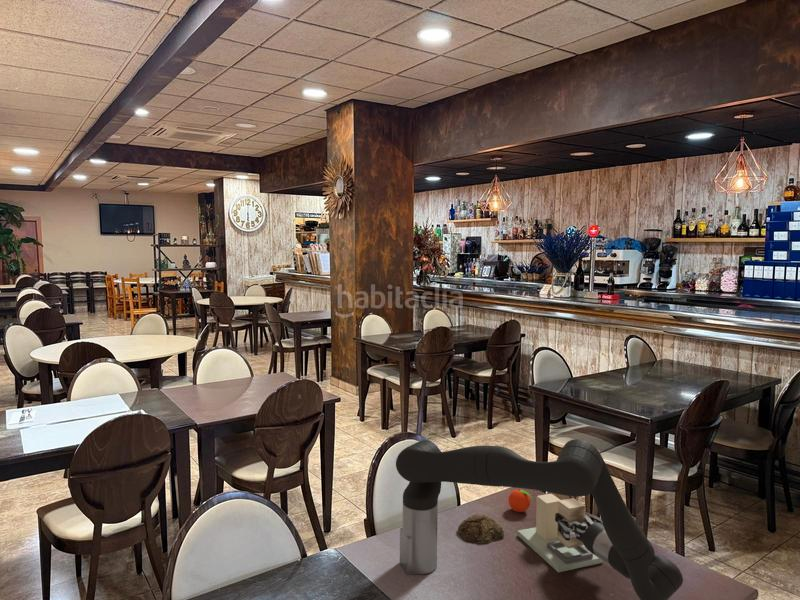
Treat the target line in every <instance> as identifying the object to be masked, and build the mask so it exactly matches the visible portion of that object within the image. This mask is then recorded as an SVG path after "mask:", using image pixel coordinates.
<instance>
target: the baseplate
mask: <svg viewBox="0 0 800 600" xmlns="http://www.w3.org/2000/svg"><path fill="white" fill-rule="evenodd" d="M559 500H560V499H559V498H557V497H556V496H554V495H553V494H547V493H546V494H540V495H536V509H535V511H536V514H535V527H530V528H525V529H519V530H517V536H518V537H519V538H520V539H521V540H522V541H523V542H524V543H525V544H526V545H528V547H529V548H531V549H532V550H533V551H534V552H535V553H536V554H537V555H539V556H540V557H541V558H542V559H543V560H544V561H545V562H546V563H547V564H549V565H550V566H551V567H552V569H554V570H555V571H556V572H557V573H562V572H567V571H572V570H577V569H580V568H585V567H589V566H594V565H599V564H602V563H604V562H603V561H602V560H600V559H599V558H598V557H597V556H595V555H594V554H593V553H591V552H590V551H589V550H587V549H586V547H585V546H584V545H582V546H578V547H573V548H567V547H566V546H565V545H563V544H562V543H561V542H560V541H559V540H557V524H558V523H557V522H556V521H555V514H556V513H558V501H559Z"/></svg>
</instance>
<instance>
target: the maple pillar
mask: <svg viewBox="0 0 800 600" xmlns="http://www.w3.org/2000/svg"><path fill="white" fill-rule="evenodd" d="M558 513H559V514H560V515H562V516H563V517H565V518H566V519H568V520H570V521H572V520H574V521H577V522H579V523H583V522H585V520H584V518H585V515H586V505H585V504H583V503H582V502H580V501H579V500H578V501H577V500H576V499H574V498H571V499H565V500H559V501H558ZM567 527H569V524H567ZM574 528H575V525H574ZM557 540H559V541H560V542H561V543H562V544H563V545H565V546H566V547H567V548H573V547H578V546H582V545H584V544H583V542H582V541H580V540H578V539H576V538H575V537H572V538H570V540H569V541H567V540H565V539H564V537H563V536H562V535H561V534H560V532H559V531H558V524H557Z"/></svg>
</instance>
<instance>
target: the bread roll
mask: <svg viewBox="0 0 800 600" xmlns="http://www.w3.org/2000/svg"><path fill="white" fill-rule="evenodd" d="M457 533H458V534H460V535H461V536H462V538H463V539H464V541H465V542H468V543H471V544H472V543H473V544H474V543H478V544H483V545H485V544H490V543H494V542H495V541H501V540H502V539H503V538H504V536H505V532H504V529H503V527H502V526H501V525H500V524H499V523H498V522H497V521H496V520H494V519H493V518H492V517H488V516H486V514H474V515H472V516H469V517H467V518H466V519H464V520H463V521H462V522H461V523H460V524H459V525H458V527H457Z"/></svg>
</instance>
